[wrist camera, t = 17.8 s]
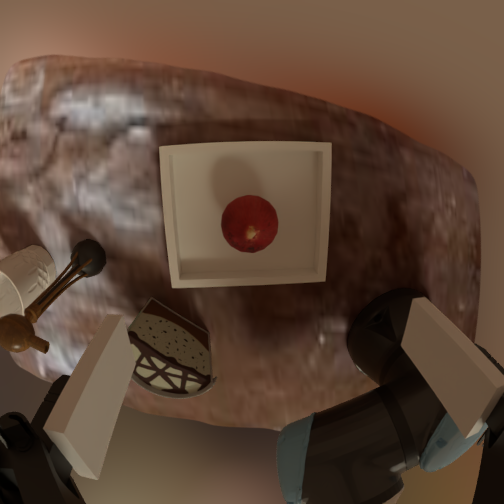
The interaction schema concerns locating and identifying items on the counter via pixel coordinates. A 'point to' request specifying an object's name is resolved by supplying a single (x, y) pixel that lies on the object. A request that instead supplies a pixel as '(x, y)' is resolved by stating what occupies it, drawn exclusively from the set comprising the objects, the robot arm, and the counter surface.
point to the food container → (170, 353)
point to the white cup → (24, 278)
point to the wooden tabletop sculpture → (50, 299)
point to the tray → (237, 185)
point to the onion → (249, 223)
